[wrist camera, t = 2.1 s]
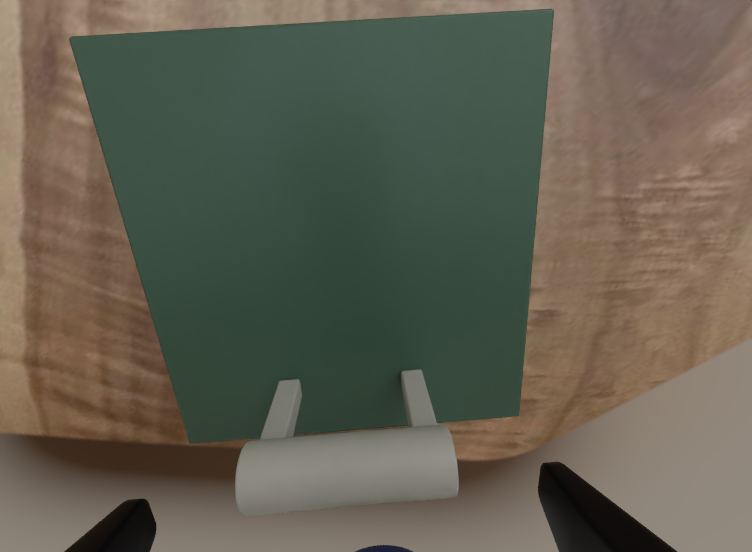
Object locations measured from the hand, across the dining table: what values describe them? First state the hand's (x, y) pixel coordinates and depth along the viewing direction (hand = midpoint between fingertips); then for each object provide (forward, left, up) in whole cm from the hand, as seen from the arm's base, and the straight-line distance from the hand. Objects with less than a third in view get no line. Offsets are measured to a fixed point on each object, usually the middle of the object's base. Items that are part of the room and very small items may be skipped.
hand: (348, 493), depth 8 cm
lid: (+3, -3, -5) cm, 6 cm away
